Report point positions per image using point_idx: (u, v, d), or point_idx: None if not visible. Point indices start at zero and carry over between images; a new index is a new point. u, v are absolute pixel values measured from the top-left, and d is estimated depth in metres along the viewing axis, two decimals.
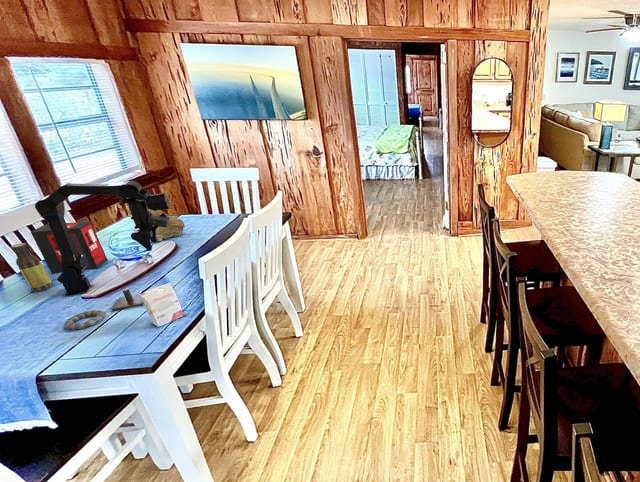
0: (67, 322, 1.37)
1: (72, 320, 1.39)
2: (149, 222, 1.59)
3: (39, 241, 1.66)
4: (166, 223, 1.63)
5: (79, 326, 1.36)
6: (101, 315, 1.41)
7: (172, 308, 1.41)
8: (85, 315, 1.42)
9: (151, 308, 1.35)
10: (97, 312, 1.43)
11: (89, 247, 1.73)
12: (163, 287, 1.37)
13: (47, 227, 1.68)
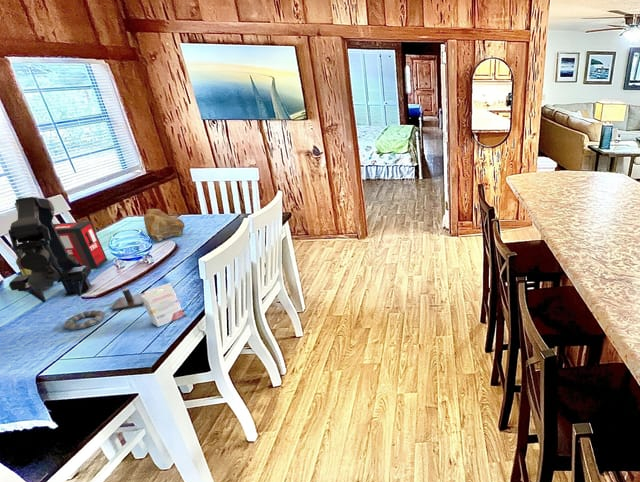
0: (67, 322, 1.37)
1: (72, 320, 1.39)
2: None
3: None
4: (30, 285, 1.24)
5: (79, 326, 1.36)
6: (101, 315, 1.41)
7: (172, 308, 1.41)
8: (85, 315, 1.42)
9: (151, 308, 1.35)
10: (97, 312, 1.43)
11: (89, 247, 1.73)
12: (163, 287, 1.37)
13: None
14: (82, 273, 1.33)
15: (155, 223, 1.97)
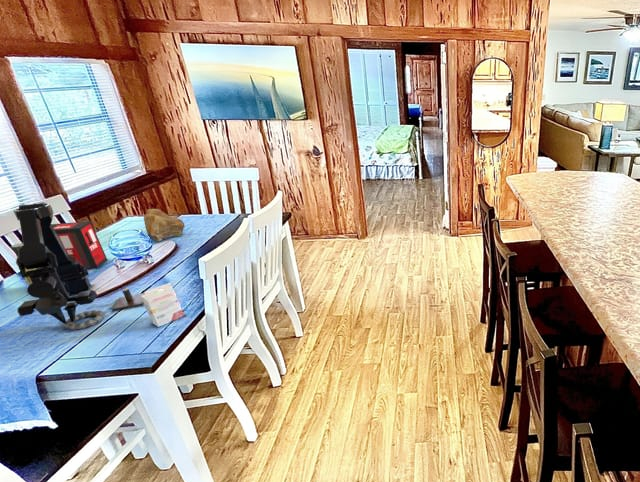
0: (67, 322, 1.37)
1: None
2: None
3: None
4: (38, 311, 1.27)
5: (79, 326, 1.36)
6: (101, 315, 1.41)
7: (172, 308, 1.41)
8: (85, 315, 1.42)
9: (151, 308, 1.35)
10: (97, 312, 1.43)
11: (89, 247, 1.73)
12: (163, 287, 1.37)
13: None
14: (88, 298, 1.36)
15: (155, 223, 1.97)
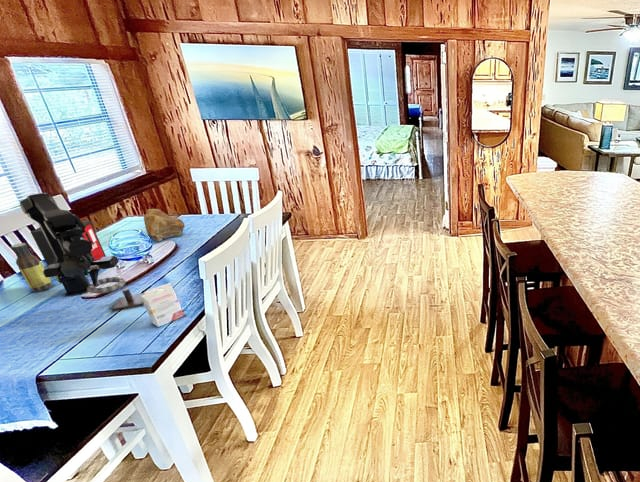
0: (90, 286, 1.41)
1: None
2: None
3: (39, 241, 1.66)
4: (63, 272, 1.31)
5: (102, 291, 1.40)
6: (122, 281, 1.46)
7: (172, 308, 1.41)
8: (107, 281, 1.46)
9: (151, 308, 1.35)
10: (119, 279, 1.47)
11: None
12: (163, 287, 1.37)
13: None
14: (110, 262, 1.40)
15: (155, 223, 1.97)
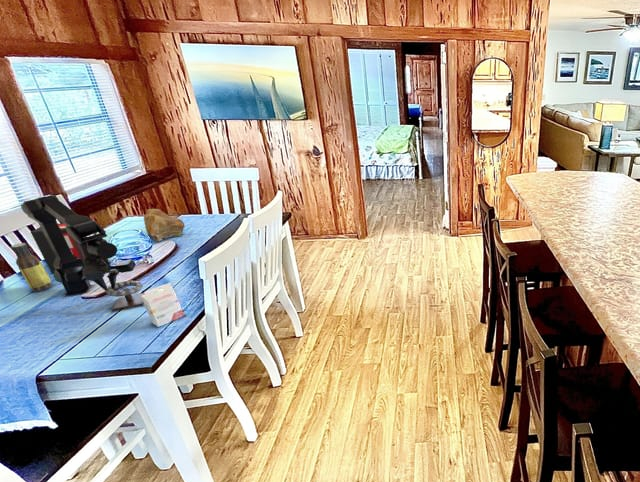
0: (109, 289, 1.46)
1: None
2: None
3: (39, 241, 1.66)
4: (85, 276, 1.36)
5: (121, 294, 1.45)
6: (140, 285, 1.51)
7: (172, 308, 1.41)
8: (124, 284, 1.52)
9: (151, 308, 1.35)
10: (136, 282, 1.52)
11: None
12: (163, 287, 1.37)
13: None
14: (129, 266, 1.45)
15: (155, 223, 1.97)
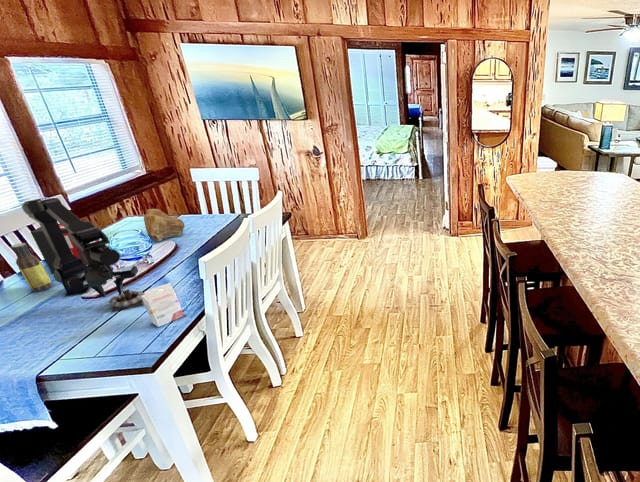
0: (111, 300, 1.48)
1: (115, 299, 1.50)
2: None
3: (39, 241, 1.66)
4: (88, 283, 1.37)
5: (123, 304, 1.47)
6: (141, 294, 1.53)
7: (172, 308, 1.41)
8: None
9: (151, 308, 1.35)
10: (137, 292, 1.54)
11: None
12: (163, 287, 1.37)
13: None
14: (131, 272, 1.46)
15: (155, 223, 1.97)
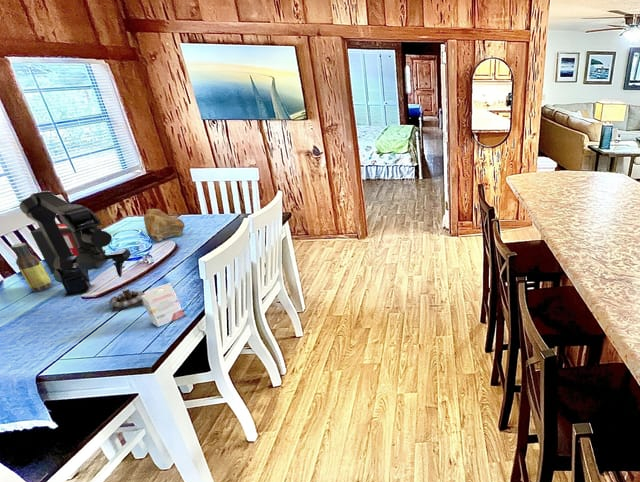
0: (111, 300, 1.48)
1: (115, 299, 1.50)
2: None
3: (39, 241, 1.66)
4: (79, 265, 1.35)
5: (123, 304, 1.47)
6: (141, 294, 1.53)
7: (172, 308, 1.41)
8: None
9: (151, 308, 1.35)
10: (137, 292, 1.54)
11: None
12: (163, 287, 1.37)
13: None
14: (123, 255, 1.44)
15: (155, 223, 1.97)
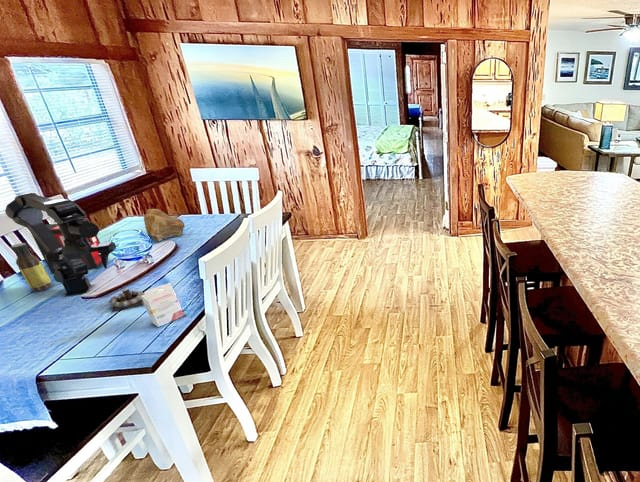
0: (111, 300, 1.48)
1: (115, 299, 1.50)
2: None
3: None
4: (64, 256, 1.39)
5: (123, 304, 1.47)
6: (141, 294, 1.53)
7: (172, 308, 1.41)
8: None
9: (151, 308, 1.35)
10: (137, 292, 1.54)
11: None
12: (163, 287, 1.37)
13: (47, 227, 1.68)
14: (109, 247, 1.48)
15: (155, 223, 1.97)
